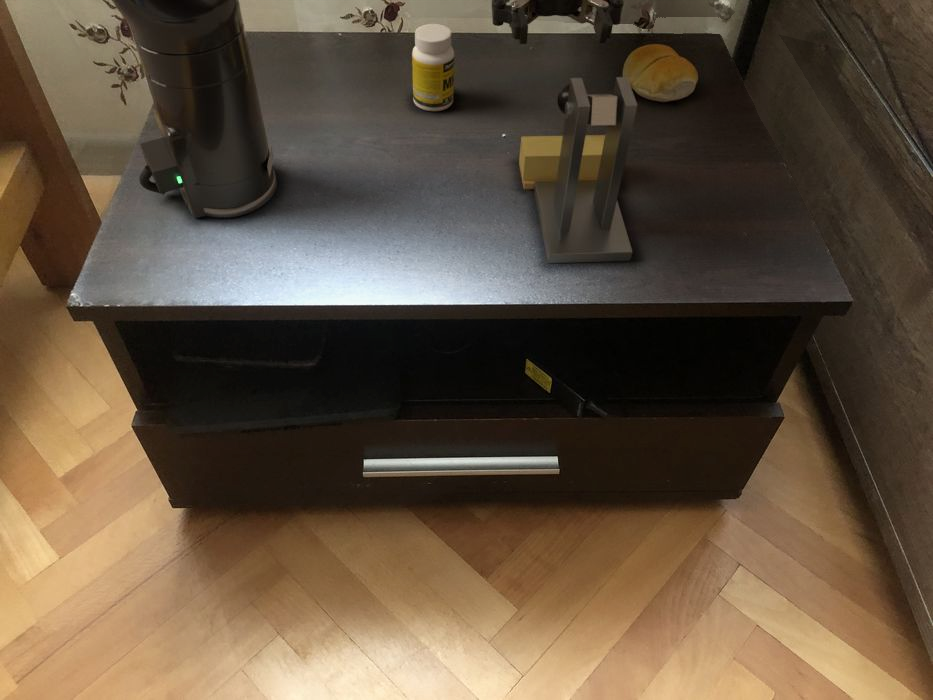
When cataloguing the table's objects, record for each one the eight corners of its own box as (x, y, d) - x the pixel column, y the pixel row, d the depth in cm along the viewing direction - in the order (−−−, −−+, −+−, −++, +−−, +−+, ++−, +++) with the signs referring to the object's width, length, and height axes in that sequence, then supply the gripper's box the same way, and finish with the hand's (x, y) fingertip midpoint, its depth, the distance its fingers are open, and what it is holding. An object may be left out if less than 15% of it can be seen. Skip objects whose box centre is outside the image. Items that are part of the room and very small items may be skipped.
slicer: (533, 190, 81) (548, 57, 70) (609, 188, 82) (636, 56, 70) (547, 263, 74) (566, 129, 63) (630, 261, 74) (664, 128, 63)
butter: (518, 163, 84) (520, 133, 81) (611, 161, 84) (617, 131, 82) (522, 189, 81) (525, 159, 78) (619, 187, 82) (625, 157, 79)
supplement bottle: (448, 115, 89) (449, 46, 83) (408, 109, 90) (406, 40, 83) (457, 92, 92) (458, 24, 86) (418, 87, 93) (417, 19, 86)
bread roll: (661, 58, 99) (668, 28, 95) (705, 94, 93) (714, 63, 90) (606, 72, 96) (611, 42, 93) (648, 110, 91) (655, 79, 88)
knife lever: (554, 115, 81) (555, 82, 80) (584, 114, 81) (585, 82, 80) (584, 130, 67) (586, 91, 66) (621, 130, 67) (623, 91, 66)
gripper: (486, -67, 89) (499, 1, 79) (608, -68, 90) (637, 0, 80) (483, -3, 95) (495, 69, 85) (598, -3, 96) (624, 67, 86)
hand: (564, 35), depth 82 cm, fingers open, 8 cm apart
